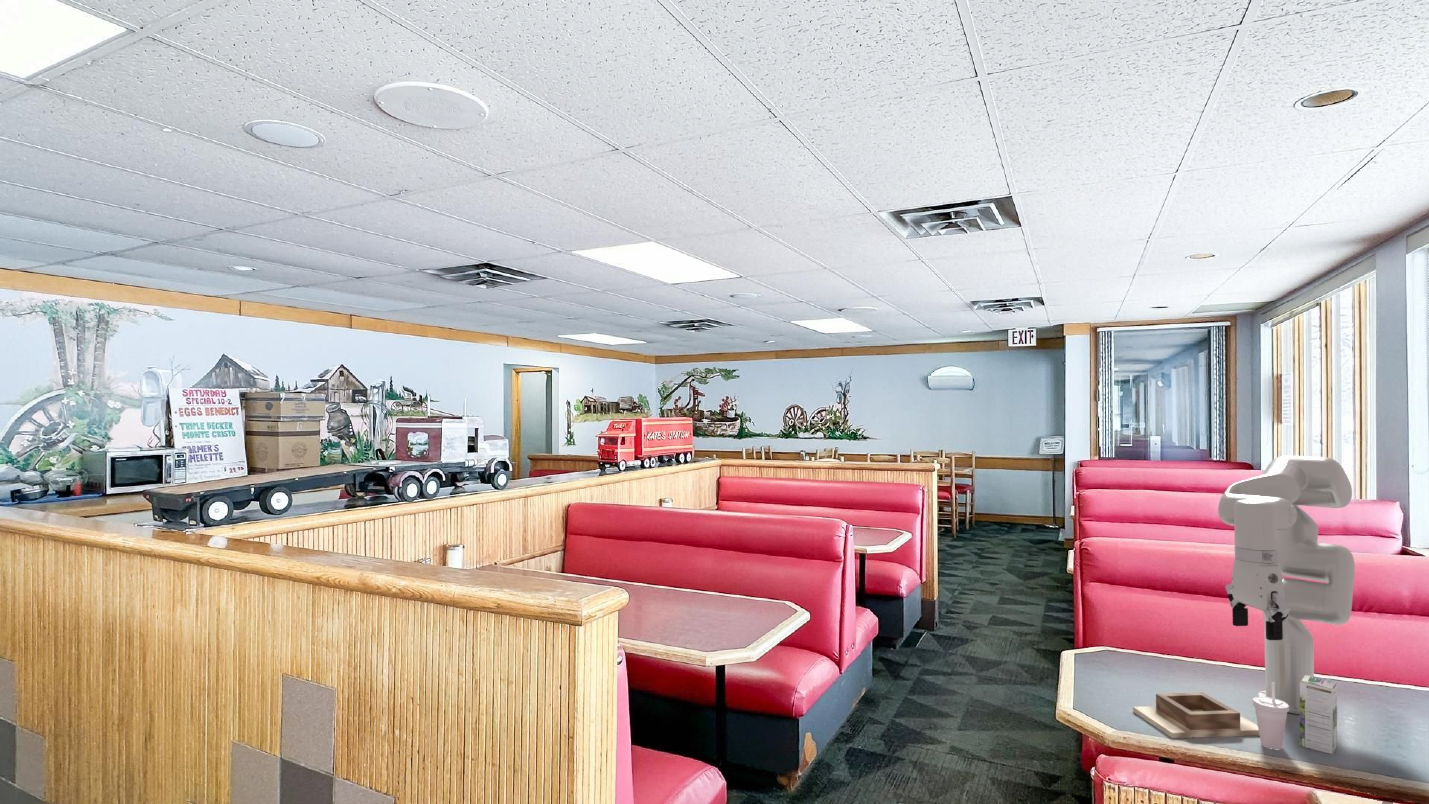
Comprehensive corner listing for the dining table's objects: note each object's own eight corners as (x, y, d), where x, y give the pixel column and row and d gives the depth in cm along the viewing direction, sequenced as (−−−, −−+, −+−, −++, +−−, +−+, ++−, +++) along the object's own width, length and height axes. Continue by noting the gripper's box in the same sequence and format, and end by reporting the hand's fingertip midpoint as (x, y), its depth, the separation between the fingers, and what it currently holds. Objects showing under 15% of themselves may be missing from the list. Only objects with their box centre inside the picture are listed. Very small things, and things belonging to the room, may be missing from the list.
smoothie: (1296, 754, 153) (1295, 689, 153) (1262, 751, 154) (1261, 687, 154) (1279, 740, 159) (1278, 678, 159) (1247, 738, 161) (1246, 676, 161)
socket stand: (1219, 709, 176) (1219, 690, 176) (1265, 735, 162) (1265, 714, 162) (1133, 711, 175) (1132, 692, 175) (1172, 738, 161) (1172, 717, 161)
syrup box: (1303, 738, 160) (1302, 673, 160) (1338, 747, 156) (1337, 680, 156) (1299, 746, 157) (1298, 680, 157) (1334, 755, 152) (1333, 688, 152)
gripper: (1305, 564, 150) (1306, 645, 150) (1242, 547, 167) (1244, 620, 167) (1269, 564, 150) (1271, 646, 150) (1211, 548, 167) (1212, 621, 167)
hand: (1256, 632), depth 158 cm, fingers open, 9 cm apart
